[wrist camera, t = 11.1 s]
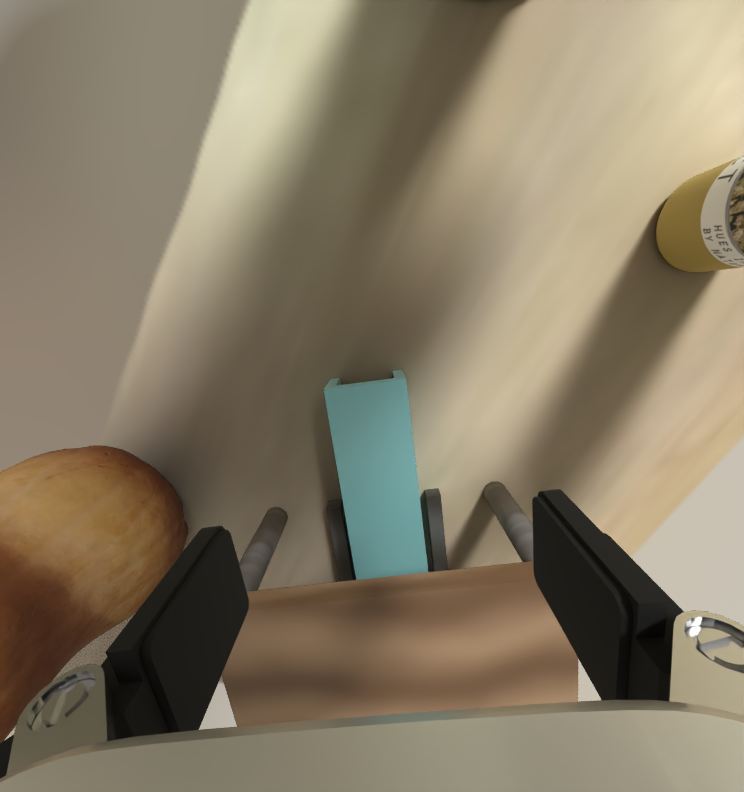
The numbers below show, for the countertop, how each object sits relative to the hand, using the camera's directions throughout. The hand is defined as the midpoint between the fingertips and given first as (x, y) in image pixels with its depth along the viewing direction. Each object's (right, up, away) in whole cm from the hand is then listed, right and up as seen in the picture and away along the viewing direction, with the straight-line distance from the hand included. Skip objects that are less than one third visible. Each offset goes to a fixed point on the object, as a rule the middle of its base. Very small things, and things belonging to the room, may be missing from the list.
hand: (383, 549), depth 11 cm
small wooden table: (+1, -11, +22) cm, 25 cm away
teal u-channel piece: (+1, -4, +21) cm, 21 cm away
